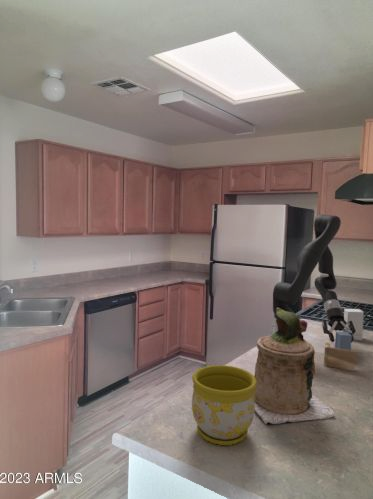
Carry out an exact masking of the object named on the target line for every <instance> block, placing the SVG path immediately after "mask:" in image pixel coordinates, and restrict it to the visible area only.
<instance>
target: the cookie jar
mask: <svg viewBox="0 0 373 499" xmlns="http://www.w3.org/2000/svg"><path fill="white" fill-rule="evenodd" d="M276 315H277V316H276V317H277V320H276V323H277V327H278V331H277V332H275V333H274V334H273V335H271V334H270V335H264V336H262V337H259V338H258V339H257V341H256V348H257V350H258V351H257V358H256V362H255V365H254V366H255V367H254V375H253V376H254V377H255V378H256V382H257V384H256V387H255V393H254V397H255V412H256V414H257V416H259V417H260V418H261V420H262V421H263V423H264V424H265V425H267V424H268V423H270V424H271V425H280V424H284V423H297V422H305V421H312V420H325V419H331V418H332V417H334V416H335V411H334V410H333V409H332V408H331V407H329V406H328V405H327V404H325V403H324V402H323V401H321V400H320V398H318V397H317V396H315V395H314V394H313V392H312V386H313V379H314V374H315V373H316V370H315V368H316V363H315V354H316V350H315V349H314V348H315V347H314V346H313V344H312V343H310V342H308V341H306V339H304V335H303V334H302V333H306V331H307V328H308V322H307V321H306V320H305V319H300V318H299V316H298V315H297V314H296V313H295V312H294V313H292V312H287V311H284V310H282V309H280V308H277V309H276Z"/></svg>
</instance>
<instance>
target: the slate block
mask: <svg viewBox="0 0 373 499" xmlns="http://www.w3.org/2000/svg"><path fill="white" fill-rule="evenodd" d="M351 338H352V335H350V334H349V333H347V332H343V331H335V338H334V339H335V341H334V342H335V344H334V348H339V349H345V350H352V343H351Z"/></svg>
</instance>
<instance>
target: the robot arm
mask: <svg viewBox="0 0 373 499" xmlns="http://www.w3.org/2000/svg"><path fill="white" fill-rule="evenodd" d="M341 221H342V220H341V218H340V217H339V216H337V215H333V214H332V215H331V214H317V216H316V217H315V218H314V222H313V229H314V230H313V231H314V236H315V239H314V240H312V241H310V242H309V243H306V245H305V246H303V247H302V249H301V250H300V252H299V254H298V255H297V257H296V261H295V262H296V276H295V277H294V279H293V281H292V283H288V282H283V281H279V282H276V284H275V285H274V288H273V290H272V291H273V292H272V312H273V328H272V329H273V332H271V334H270V335H273V334H274V333H275V332H277V331H278V327H277V323H276V320H277V317H276V316H277V315H276V309H277V308H280V309H282V310H284V311H287V312H292V313H295V311H293V309H291V307H289V305H290V306H292V305H293V306H294V305H296V304H297V303H298V301H299V300H300V299H301V297H302V294H303V292H304V291H305V288H306V285H307V284H308V281H309V279H310V277H311V276H312V273H313V272H314V270H315V268H316V267H317V266H318V267H317V268H318V272H319V273H321V274H323V275H325V276H317V277H315V279H314V286H315V289H316V291H318V293H319V295H320V296H321V298H322V303H323V306H324V308H323V309H324V312H325V315H326V319H324V320H323V321H322V322H321V324H322V325H321V326H322V330H323V331H322V332H323V334H325V335H328V338H329V340H330V343H334V342H335V339H336V338H335V337H334V333H333V332H334V331H335V332H347V333H349V334H350V335H352V334H354V333H355V332H356V330H355V328H354V325H353V323H352V321H349V322H346V321H345V320H344V312H343V309H342V307H341V303H340V301H339V298H338V295H337V293H336V291H333V290H335V289H336V288H337V280H336V276H335V273H334V272H335V271H334V256H333V252H332V251H331V249H330V247H329V245H330V243H331V242H332V240H333V239H334V238H335V236H336V235H337V234H338V232H339V230H340V227H341V225H342V224H341V223H342V222H341ZM326 275H327V276H326ZM326 320H327V321H326ZM346 325H347V326H349V328H348V327H347V326H346ZM328 326H329V327H330V328H329V330H328ZM344 328H345V329H344ZM354 341H355V340H354V338H353V335H352V338H351V344H352V343H353V342H354Z"/></svg>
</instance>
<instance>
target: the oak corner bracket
mask: <svg viewBox="0 0 373 499" xmlns="http://www.w3.org/2000/svg"><path fill="white" fill-rule="evenodd" d="M356 352H357V351H356V350H353V349H351V350H345V349H339V348H335V347H332V346H331V341H330V339H329V340H328V339H326V340H325V345H324V354H323V356H324V357H323V366H324V367H331V368H335V369H341V370H346V371H347V370H348V371H353V372H355V369H356V358H357V357H356V356H357V354H356Z"/></svg>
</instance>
